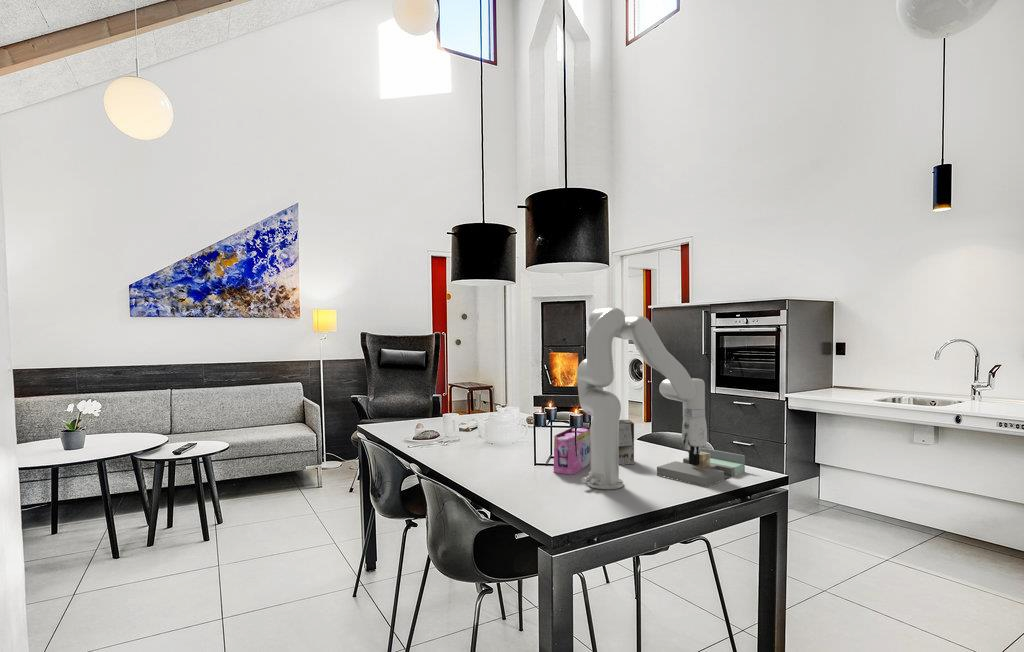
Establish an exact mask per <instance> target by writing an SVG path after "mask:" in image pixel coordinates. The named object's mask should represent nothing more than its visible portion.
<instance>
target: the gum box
mask: <svg viewBox="0 0 1024 652" xmlns="http://www.w3.org/2000/svg"><path fill="white" fill-rule="evenodd" d="M578 427H579V428H578V430H577V456H576V452H575V429H574V426H572V427H569V428H568V429H566V430H564V431H562V432H559V433H557V434H554V437H553V438H554V439H553V440H554V441H553V446H554V447H553V473H555V474H556V473H557V474H562V473H563V474H564V475H571V476H574V475H575V474H576V473H578V472H580V471H581V470H582V469H584V468H585V467H587V466H588V465H590V464H589V463H590V427H591V426H590V427H589V426H588V427H587V426H578ZM586 465H587V466H586Z"/></svg>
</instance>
